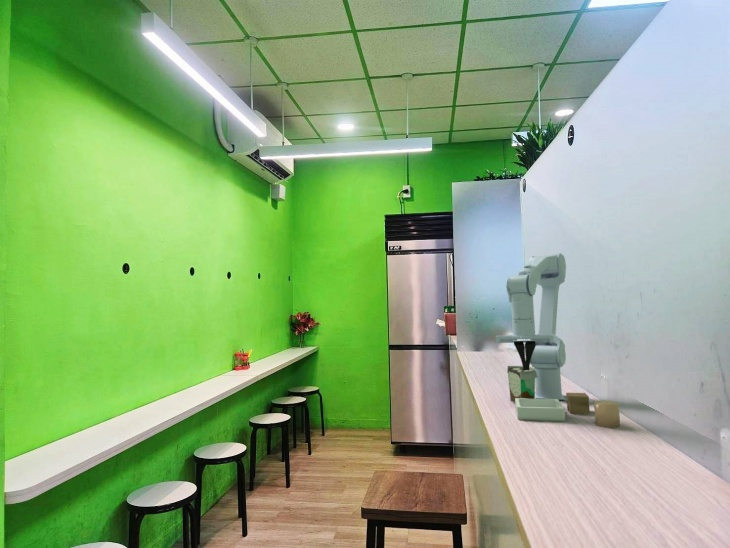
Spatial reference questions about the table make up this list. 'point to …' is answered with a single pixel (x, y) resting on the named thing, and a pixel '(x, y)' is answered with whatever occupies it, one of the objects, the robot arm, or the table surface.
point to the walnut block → (578, 403)
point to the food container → (521, 382)
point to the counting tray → (539, 409)
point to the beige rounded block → (607, 414)
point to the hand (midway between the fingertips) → (526, 369)
